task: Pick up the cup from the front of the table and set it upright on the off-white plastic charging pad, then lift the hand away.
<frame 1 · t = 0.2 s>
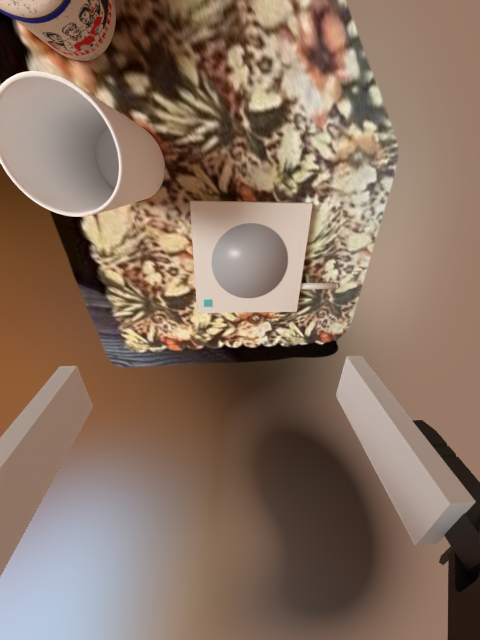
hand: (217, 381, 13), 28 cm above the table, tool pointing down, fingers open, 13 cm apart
cup: (131, 163, 31), on the table
charging pad: (248, 260, 38), on the table
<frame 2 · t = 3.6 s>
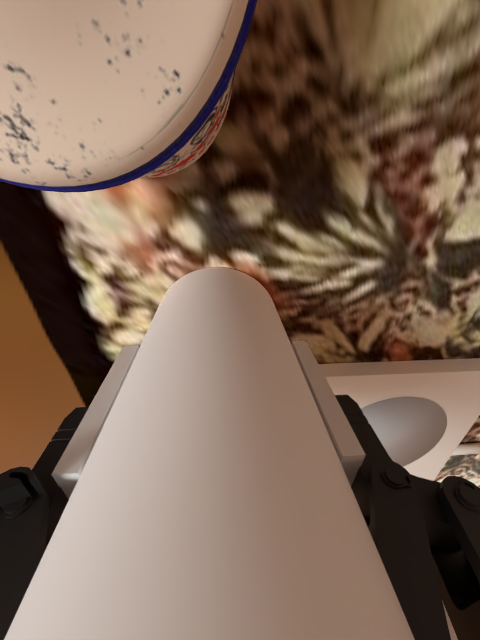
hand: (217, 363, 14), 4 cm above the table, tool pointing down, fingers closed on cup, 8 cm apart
cup: (218, 322, 18), on the table, touching gripper
teacup with lid: (161, 42, 11), on the table
charging pad: (376, 425, 25), on the table
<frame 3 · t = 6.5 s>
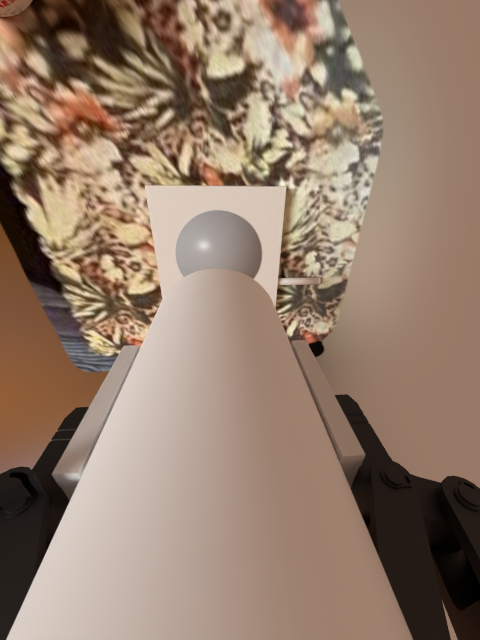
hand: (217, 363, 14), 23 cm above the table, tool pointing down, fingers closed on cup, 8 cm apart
cup: (218, 323, 18), point 19 cm above the table, touching gripper
charging pad: (219, 253, 34), on the table
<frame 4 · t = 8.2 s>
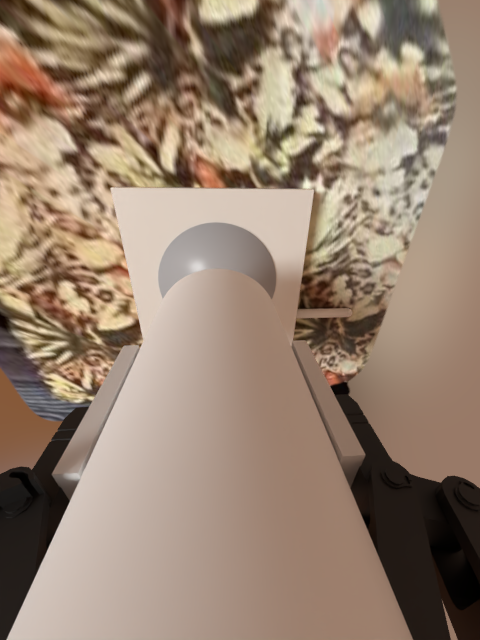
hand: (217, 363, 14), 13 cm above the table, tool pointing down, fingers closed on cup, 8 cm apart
cup: (218, 323, 18), point 9 cm above the table, touching gripper
charging pad: (218, 278, 25), on the table
when the fingers open (7 cm above the table, at t = 9.8 s): cup drops 1 cm, resting on charging pad.
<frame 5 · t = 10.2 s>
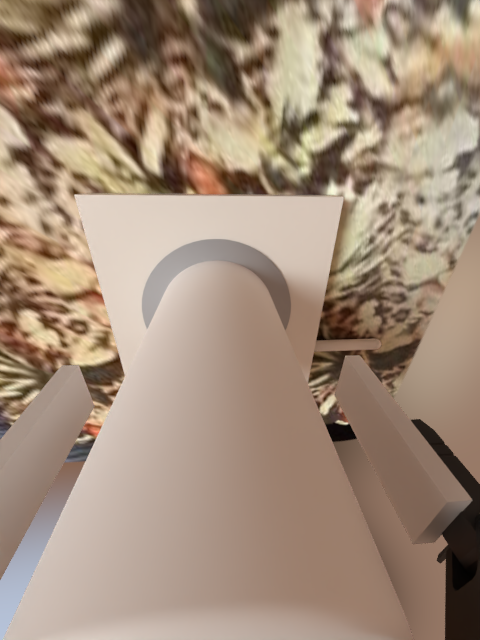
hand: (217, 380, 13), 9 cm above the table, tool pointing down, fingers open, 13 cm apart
cup: (218, 313, 19), point 1 cm above the table, touching charging pad
charging pad: (218, 305, 20), on the table
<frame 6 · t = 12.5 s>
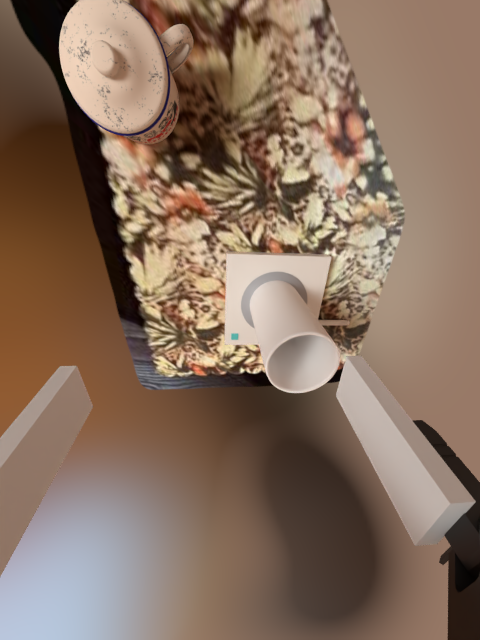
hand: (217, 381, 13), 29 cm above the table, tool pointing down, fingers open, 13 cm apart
cup: (274, 303, 42), point 1 cm above the table, touching charging pad
teacup with lid: (152, 93, 30), on the table
charging pad: (272, 300, 43), on the table
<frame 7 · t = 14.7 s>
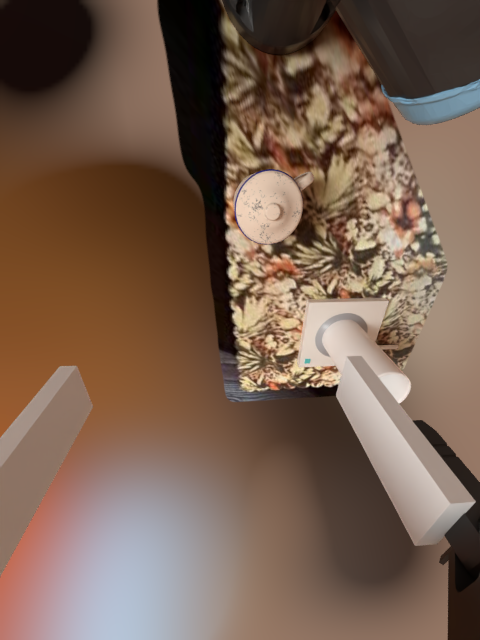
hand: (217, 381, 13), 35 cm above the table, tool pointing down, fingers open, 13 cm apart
cup: (341, 335, 53), point 1 cm above the table, touching charging pad
teacup with lid: (267, 197, 41), on the table
charging pad: (338, 332, 54), on the table
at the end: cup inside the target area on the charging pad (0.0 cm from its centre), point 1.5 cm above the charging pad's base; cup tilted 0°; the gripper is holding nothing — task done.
